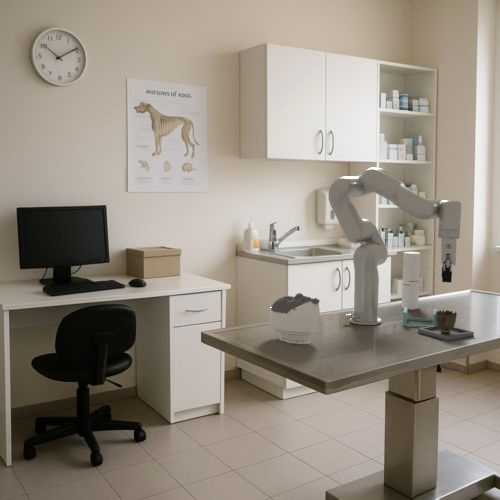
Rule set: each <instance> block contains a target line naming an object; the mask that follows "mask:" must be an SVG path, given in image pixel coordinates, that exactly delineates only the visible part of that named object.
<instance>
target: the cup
mask: <svg viewBox="0 0 500 500" xmlns="http://www.w3.org/2000/svg"><path fill="white" fill-rule="evenodd" d="M457 314H458V312H457V311H455V312H454V313H453V311H452V310H451V311H450V310H444V309H443V310H440V309H439V310H437V311H436V320H437V325H438V327H439V328H441V330H440V331H441V333H444V334H449V333H450V332H451V330H450V329H452V328H453V327H455V325H456V322H457V321H456V319H457V316H458V315H457Z"/></svg>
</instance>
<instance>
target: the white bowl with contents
mask: <svg viewBox="0 0 500 500" xmlns="http://www.w3.org/2000/svg"><path fill="white" fill-rule="evenodd" d="M320 302H321V300H320V299H319V298H317V297H315V298H312V297H309V296H306V295H303V293H301V292H299V293H296V294H295V296H291V295H285V296H283V297H280V298H278V299H276V300H275V301H274V302H273V303H272V304H271V306H270V308H269V326H271V327H272V329H273V330H274V331H275V332H276V333H278V335H279V338H278V339H279V340H280V341H282V342H286V343H289V344H295V345H296V344H297V345H300V344H301V345H308V344H310V343H311V341H310V338H313V337H314V336H315V335H316V334H317V333H318V332H320V331H321V312H320V311H321V310H320Z"/></svg>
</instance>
